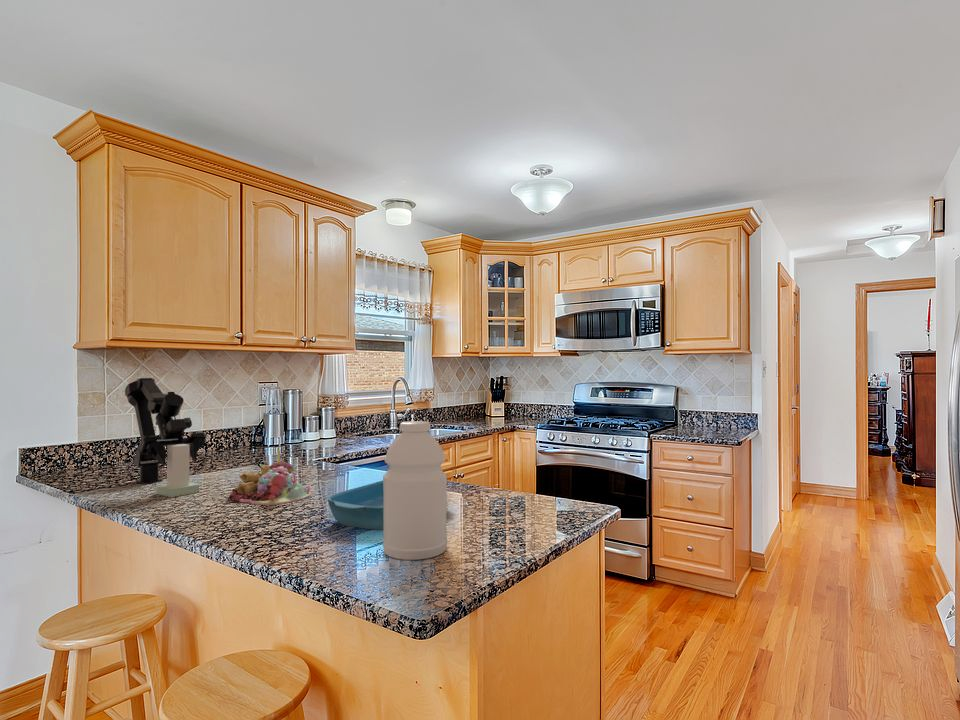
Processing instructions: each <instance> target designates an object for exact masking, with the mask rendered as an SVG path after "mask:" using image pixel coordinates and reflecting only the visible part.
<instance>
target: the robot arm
mask: <svg viewBox="0 0 960 720" xmlns="http://www.w3.org/2000/svg"><path fill="white" fill-rule="evenodd" d="M155 381H156V380H155V378H152V377H140V378H137V379H136V380H135V381H132V382H130V383H127V385H126V386H125V388H124V396H125V397H126V398H127V401H128V403H129V404H130V405H131V406H133V407H134V411H135V415H136V421H137V427H138V430H139V432H138V433H139V437H140V443H139V444H138V447H137V450H136V452H135V455H134V458H133V465H134V466H135V467H136V466H137V467H139V479H136V480H135V483H140V484H149V483H155V482H162V481H163V479H162V478H159V467H160V466H159V465H160V464H161V465H163V466H165V465H166V456H167V449H166V447H167V445H177V444H187V445H190V457H191V459H192V461H193V462H196V461H197V456H198V450H199V449H201V448H202V447H203V445H204V444H205V441H206V439H207V436H206V433H204V432H202V431H201V432H200V431H199V432H191V434H190V435H189V437H183V436H185V430H187V429H190V428H191V427H192V426H193V422H192V419H191V417H184V418H177V416H178V415H179V413H180V411H181V409H182V407H183V404H184V398H183V397H182V396H181V395H179V394H176V393H175V391H167V393H163V392H162V391H161V389H160V387H159V386H158V384H157V383H156V382H155ZM152 415H155V425H156V426H157V427H158V431H159V433H158V436H157V435H156V430H155V425H154V421H153V416H152Z"/></svg>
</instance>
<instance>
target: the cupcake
mask: <svg viewBox="0 0 960 720" xmlns="http://www.w3.org/2000/svg"><path fill="white" fill-rule="evenodd" d="M277 450H278V451H277V458H278V461H277V462H274V463H273V464H271V465H269V466H270V470H272V468H277V467H281V466H283V467H284V468H286V469H288V473H289V474H291V473H292V471H293V472H294V466H293V465H292V464H291V463H290V462H286V461H281V451H280V449H279V448H278V449H277Z"/></svg>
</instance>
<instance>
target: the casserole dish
mask: <svg viewBox="0 0 960 720" xmlns="http://www.w3.org/2000/svg"><path fill="white" fill-rule="evenodd" d="M327 502H328V505H329V509H330V511H331V514H332V516H333V519H334V520H335V521H336V522H338V523H339V524H341V525H344V526H349V527H354V528H359V529H366V530H374V531H375V530H380V531H381V530H383V480H380V481H376V482H372V483H369V484H365V485H362V486H358V487H354V488H351V489H346V490H344V491H340V492H337V493H335V494H332V495H329V496H328V497H327Z"/></svg>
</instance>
